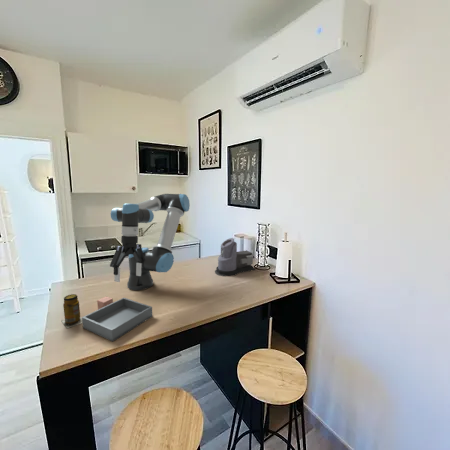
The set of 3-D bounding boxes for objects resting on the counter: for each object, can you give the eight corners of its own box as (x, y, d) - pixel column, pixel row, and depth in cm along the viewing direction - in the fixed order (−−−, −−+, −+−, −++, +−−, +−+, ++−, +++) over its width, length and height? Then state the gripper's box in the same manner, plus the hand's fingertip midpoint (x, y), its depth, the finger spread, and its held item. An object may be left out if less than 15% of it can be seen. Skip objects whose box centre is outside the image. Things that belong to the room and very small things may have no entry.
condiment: (79, 315, 117) (76, 291, 115) (85, 322, 111) (82, 297, 109) (61, 321, 112) (58, 296, 110) (66, 328, 106) (63, 303, 104)
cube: (98, 309, 123) (97, 300, 122) (106, 305, 127) (106, 296, 126) (104, 312, 120) (103, 302, 120) (113, 307, 125) (112, 298, 124)
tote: (82, 327, 107) (81, 317, 106) (124, 306, 126) (123, 297, 125) (112, 341, 98) (111, 330, 97) (152, 316, 116) (152, 306, 115)
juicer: (220, 277, 165) (220, 242, 161) (211, 270, 179) (210, 237, 175) (257, 270, 179) (258, 238, 175) (245, 264, 193) (246, 234, 189)
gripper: (114, 237, 107) (112, 285, 107) (153, 234, 129) (151, 274, 130) (102, 236, 110) (100, 282, 110) (142, 233, 132) (140, 272, 133)
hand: (128, 278), depth 120 cm, fingers open, 13 cm apart
